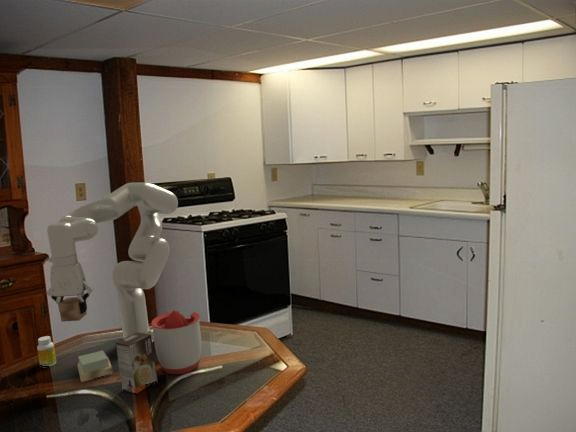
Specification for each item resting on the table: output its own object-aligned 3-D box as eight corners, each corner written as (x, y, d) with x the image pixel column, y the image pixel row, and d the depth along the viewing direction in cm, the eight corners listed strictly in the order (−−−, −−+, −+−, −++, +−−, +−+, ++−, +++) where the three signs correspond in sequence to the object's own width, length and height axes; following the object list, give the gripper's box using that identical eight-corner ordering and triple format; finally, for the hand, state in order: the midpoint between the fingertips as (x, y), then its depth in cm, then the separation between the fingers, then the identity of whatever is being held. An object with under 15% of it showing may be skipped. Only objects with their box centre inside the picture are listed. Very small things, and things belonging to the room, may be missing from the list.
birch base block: (109, 364, 189) (107, 356, 189) (113, 375, 180) (112, 367, 180) (78, 372, 185) (77, 363, 184) (81, 383, 176) (80, 375, 176)
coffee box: (143, 378, 176) (137, 331, 173) (158, 382, 172) (152, 334, 169) (121, 391, 168) (115, 342, 165) (136, 395, 165) (129, 345, 162)
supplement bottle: (50, 367, 188) (46, 341, 187) (36, 367, 190) (32, 341, 188) (59, 361, 194) (55, 335, 192) (46, 360, 195) (42, 335, 193)
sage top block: (104, 358, 187) (102, 350, 187) (108, 366, 180) (107, 358, 180) (79, 364, 183) (78, 356, 183) (83, 373, 177) (82, 364, 176)
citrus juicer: (214, 356, 188) (209, 301, 184) (190, 380, 172) (183, 320, 168) (175, 353, 193) (169, 299, 189) (147, 376, 177) (140, 317, 173)
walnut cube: (61, 321, 176) (58, 304, 175) (69, 314, 182) (66, 297, 181) (79, 320, 176) (76, 302, 175) (86, 313, 182) (84, 296, 181)
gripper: (33, 265, 172) (42, 319, 176) (86, 261, 171) (94, 315, 175) (44, 259, 180) (53, 310, 183) (95, 255, 179) (103, 307, 182)
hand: (73, 312), depth 179 cm, fingers closed on walnut cube, 6 cm apart
